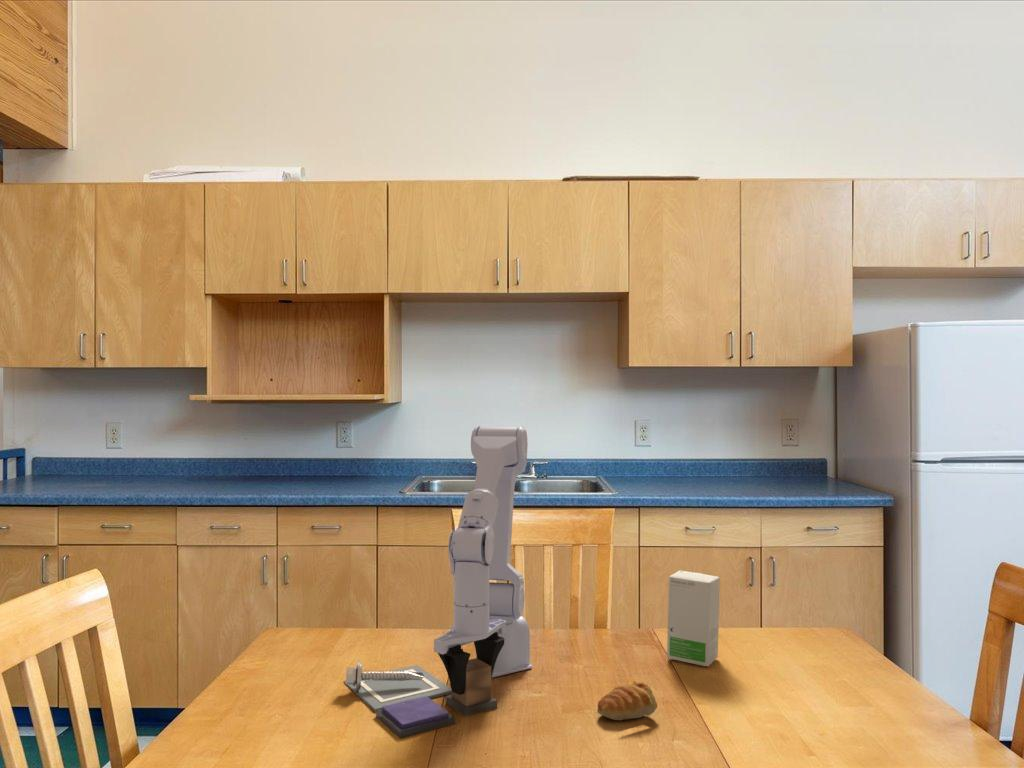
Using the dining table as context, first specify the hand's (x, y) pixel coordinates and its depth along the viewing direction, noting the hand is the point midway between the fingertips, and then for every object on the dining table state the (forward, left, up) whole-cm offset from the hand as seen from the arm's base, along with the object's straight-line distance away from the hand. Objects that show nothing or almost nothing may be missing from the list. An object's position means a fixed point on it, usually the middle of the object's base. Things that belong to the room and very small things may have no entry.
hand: (471, 687), depth 123 cm
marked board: (+7, -13, -3) cm, 15 cm away
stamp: (0, 0, -3) cm, 3 cm away
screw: (+9, -13, -3) cm, 16 cm away
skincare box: (-46, +4, -3) cm, 46 cm away
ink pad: (+10, 0, -3) cm, 10 cm away
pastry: (-17, +14, -4) cm, 22 cm away
